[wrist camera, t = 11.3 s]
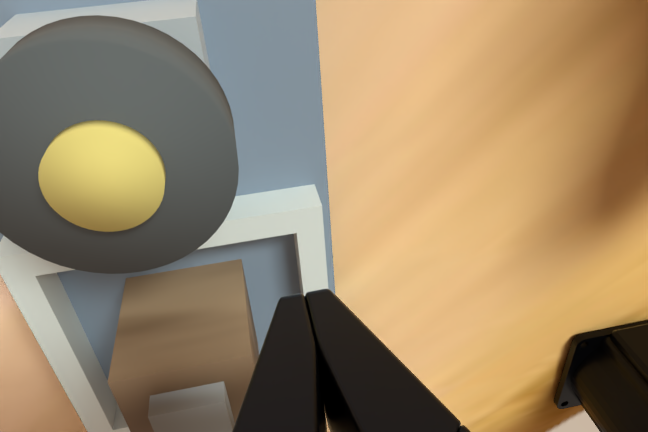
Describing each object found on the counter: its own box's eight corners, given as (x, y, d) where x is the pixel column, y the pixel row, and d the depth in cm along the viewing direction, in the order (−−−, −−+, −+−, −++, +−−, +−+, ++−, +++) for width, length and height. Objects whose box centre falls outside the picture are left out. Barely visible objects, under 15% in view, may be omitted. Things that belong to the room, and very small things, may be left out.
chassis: (335, 352, 27) (351, 414, 24) (94, 399, 26) (80, 471, 23) (305, -60, 16) (328, -41, 13) (-119, -20, 15) (-201, 12, 12)
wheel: (249, 211, 16) (256, 264, 14) (40, 245, 15) (15, 305, 13) (212, 1, 12) (214, 30, 10) (-62, 31, 12) (-117, 68, 10)
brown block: (258, 343, 24) (271, 463, 19) (156, 362, 23) (145, 490, 19) (241, 258, 21) (253, 375, 16) (125, 278, 20) (103, 404, 16)
